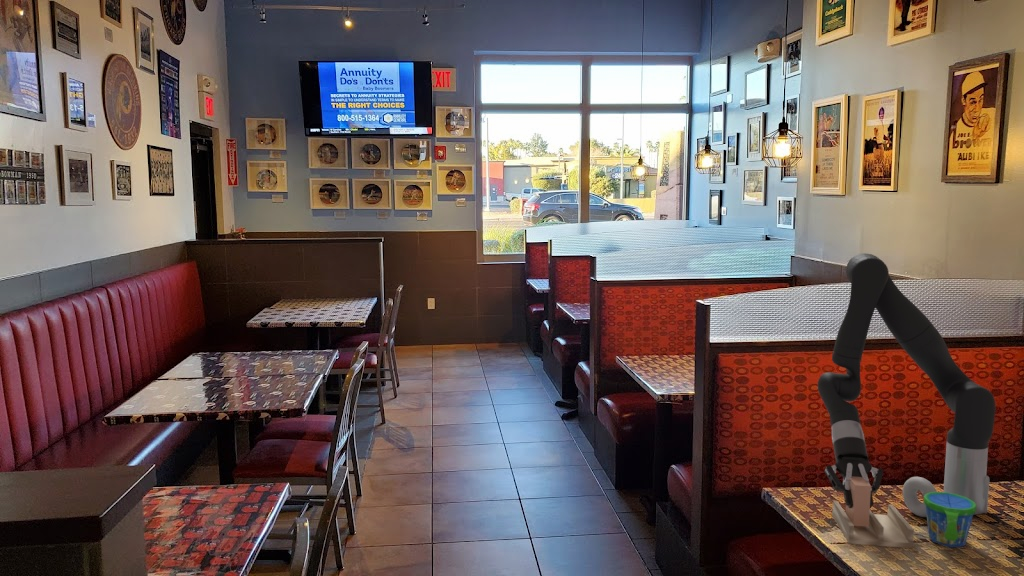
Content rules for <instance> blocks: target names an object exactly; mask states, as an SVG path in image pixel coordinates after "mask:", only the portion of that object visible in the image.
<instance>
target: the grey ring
mask: <svg viewBox="0 0 1024 576" xmlns="http://www.w3.org/2000/svg"><path fill="white" fill-rule="evenodd" d="M918 492H920V493H921V494H922V496H923V498H924V496H925V495H926V494H927V493H931V492H938V491H937V489H936V487H935V485H933V484H932V482H931V481H930V480H928V479H926V478H924V477H920V476H912V477H909V478H908V479H907V480H906V481H905V482H904V484H903V486H902V498H903V502H904V503H905V506H906V507H907V509H909V511H910V512H911V513H913V514H914V515H915V516H916V517H917V516H918V517H921V518H927V513H926V505H925V503H924V500H923V501H922V502H921V501H920V500H919V498H918Z"/></svg>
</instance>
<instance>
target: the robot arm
mask: <svg viewBox="0 0 1024 576" xmlns="http://www.w3.org/2000/svg"><path fill="white" fill-rule="evenodd" d="M845 267H846V269H845V273H846V274H845V275H846V277H847V279H848V281H849V282H850V295H849V296H850V297H849V303H848V306H847V310H846V313H845V315H844V318H843V320H842V322H841V324H840V327H839V329H838V331H837V334H836V339H835V342H834V346H833V352H832V354H831V361H832V363H833V364H834V365H836V366H839V367H841V368H844V369H845V370H846V374H845V373H838V372H837V373H836V372H830V371H829V372H824V373H821V375H820V376H819V378H818V381H817V390H818V393H819V397H820V398H821V400H822V402H823V404H824V406H825V408H826V410H827V412H828V414H829V420H830V427H831V442H832V446H833V452H834V459H835V463H834V464H833V465H830V464H828V465H826V467H825V469H824V473H825V475H826V476H827V478H828V480H829V482H830V483H831V485H832V487H833V489H834V490H835V491H836V492H841V493H842V494H843V497H844V503H845V507H846V506H848V507H849V508H852V507H853V500H852V494H851V491H850V478H851V476H853V477H862V478H864V479H866V481H867V482H868V483H869V484H870V480H869V477H868V475H869V473H870V472H871V474H872V477H873V479H874V480H873V483H872V485H871V484H870V486H871V495H870V509H871V508H872V507H873V506H874V497H873V494H876V493H877V492H878V490H879V489H880V487H881V483H882V478H883V475H884V469H883V468H882V467H879V468H877V467H873V466H872V464H871V462H870V461H869V455H868V452H867V451H868V450H867V445H866V441H865V440H866V439H865V435H864V431H863V428H862V423H861V419H860V413H859V408H858V407H857V406H856V405H855V404H852V403H851V402H854V401H856V400H857V399H858V398H859V397H860V395H861V391H862V384H861V383H862V382H861V362H862V358H863V352H864V349H865V345H866V342H867V338H868V333H869V329H870V324H871V322H872V318H873V315H874V312H875V310H876V311H877V312H878V314H879V316H880V317H881V319H882V320H883V322H884V324H885V325H886V327H887V329H888V330H889V332H890V333H891V334H892V335H893V337H894V339H895V340H896V341H897V343H898V344H899V345H900V347H901V348H902V349H903V350H904V352H905V353H906V354H907V355H908V356H909V357H910V358H911V360H912V361H913V362H914V363H915V364H916V365H917V367H919V368H920V369H921V370H922V371H923V372H924V374H925V375H926V376H927V377H928V378H929V379H930V380H931V382H932V383H933V385H934V386H935V387H936V388H935V389H936V390H937V391H938V393H939V394H940V396H941V398H942V400H944V402H945V404H946V406H947V407H948V408H949V409H950V410H951V411H952V412H953V413H954V420H953V422H954V423H953V427H952V428H950V429H949V430H948V431H947V434H946V445H945V449H946V450H945V463H944V464H945V466H944V478H943V479H944V480H943V491H942V492H946V493H952V494H957V495H960V496H963V497H966V498H968V499H970V500H972V501H973V502H974V503H975V504H976V511H975V513H974V514H973V516H974V515H981V514H988V507H989V506H988V505H989V504H988V503H989V490H990V477H989V476H988V475H987V467H988V455H989V454H988V452H989V443H990V440H991V438H992V436H993V431H994V425H995V417H996V400H995V397H994V395H993V393H992V392H991V391H990V390H989V389H987V388H985V387H984V386H981V385H980V384H978V383H976V382H974V381H973V380H972V379H971V378H970V377H969V376H968V375H966V374H965V372H964V371H963V370H962V369H961V368H960V367H959V365H958V364H956V362H955V361H954V359H953V358H952V355H951V353H950V351H949V348H948V346H947V343H946V342H945V340H944V338H943V335H941V333H940V332H939V330H938V329H937V328H936V326H934V324H933V323H932V322H931V320H930V319H929V318H928V317H927V316H926V315H925V314H924V313H923V312H922V311H921V309H919V307H917V306H916V304H914V303H913V302H912V301H911V300H910V299H909V298H908V297H907V296H906V295H905V294H903V292H902V291H901V290H900V289H899V288H898V286H897V285H896V284H895V282H894V280H892V278H891V276H890V275H889V273H890V272H889V268H888V266H887V264H886V263H885V262H884V261H883V260H882V259H881V258H879V257H878V256H876V255H874V254H872V253H858V254H855V255H853V256H852V257H851V258H849V260H848V261H847V264H846V266H845ZM837 472H838V474H840V475H841V476H842V479H843V480H842V482H841V480H840V479H839V477H838V475H837V474H836V473H837Z"/></svg>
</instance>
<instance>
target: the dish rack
mask: <svg viewBox="0 0 1024 576" xmlns="http://www.w3.org/2000/svg"><path fill="white" fill-rule="evenodd" d="M831 517H832V518H833V520H834V521H835V523H836V524H837V526H838V527H839V530H840V531H841V533H842V535H843V536H844V537H845V540H846V541H847V542H848V544H849V545H850V544H852V545H862V546H863V545H864V546H865V545H866V546H878V547H879V546H880V547H891V548H905V549H907V548H908V549H914V547H915V543H914V531H915V530H914V528H913V527H912V526H911V524H910V523H909V522H908V521H907V520H906V519H905V518H904V516H903V515H902V514H901V513H900V511H899V510H898V509H897V508H896V507H895V505H894V504H887V514H876V513H873V512H872V510H871V509H870V514H869V527H867V526H854V525H853V523H852V522H851V521H850V519H849V518H848V516H847V515H846V513H845V510H844V508H843V507H842V505H841V504H840V503H839V501H838V500H832V511H831Z"/></svg>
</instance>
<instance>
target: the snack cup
mask: <svg viewBox="0 0 1024 576" xmlns="http://www.w3.org/2000/svg"><path fill="white" fill-rule="evenodd" d="M923 501H924V503H925V505H926V513H927V517H926V522H927V523H926V524H927V530H928V537H929V539H930V540H931V541H932V542H933V543H937V544H938V545H941V546H943V547H948V548H960V547H965V545H966V543H967V540H968V536H969V534H970V529H971V525H972V522H973V517H974V515H975V514H974V513H975V511H976V504H975V503H974V502H973V501H972V500H970V499H968V498H966V497H963V496H960V495H957V494H952V493H946V492H943V491H937V492H931V493H927V494H926V495H925V496H924V497H923ZM973 514H974V515H973Z"/></svg>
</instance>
